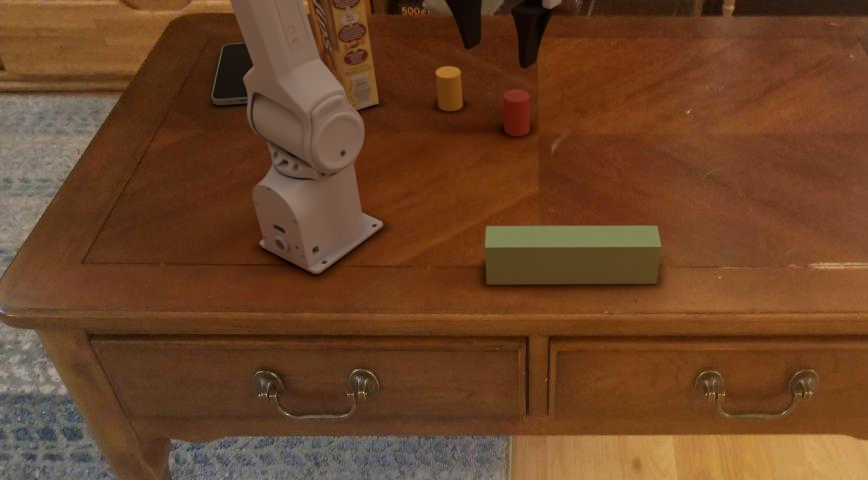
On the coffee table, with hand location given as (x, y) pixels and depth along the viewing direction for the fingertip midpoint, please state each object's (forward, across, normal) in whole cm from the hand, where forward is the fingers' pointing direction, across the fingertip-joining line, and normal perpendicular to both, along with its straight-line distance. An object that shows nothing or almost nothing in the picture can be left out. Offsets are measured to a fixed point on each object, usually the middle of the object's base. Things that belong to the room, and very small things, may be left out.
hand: (499, 55), depth 92 cm
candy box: (+10, +21, +4) cm, 23 cm away
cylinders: (+10, +4, -2) cm, 11 cm away
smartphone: (+10, +35, +8) cm, 37 cm away
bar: (+10, -21, +17) cm, 28 cm away
